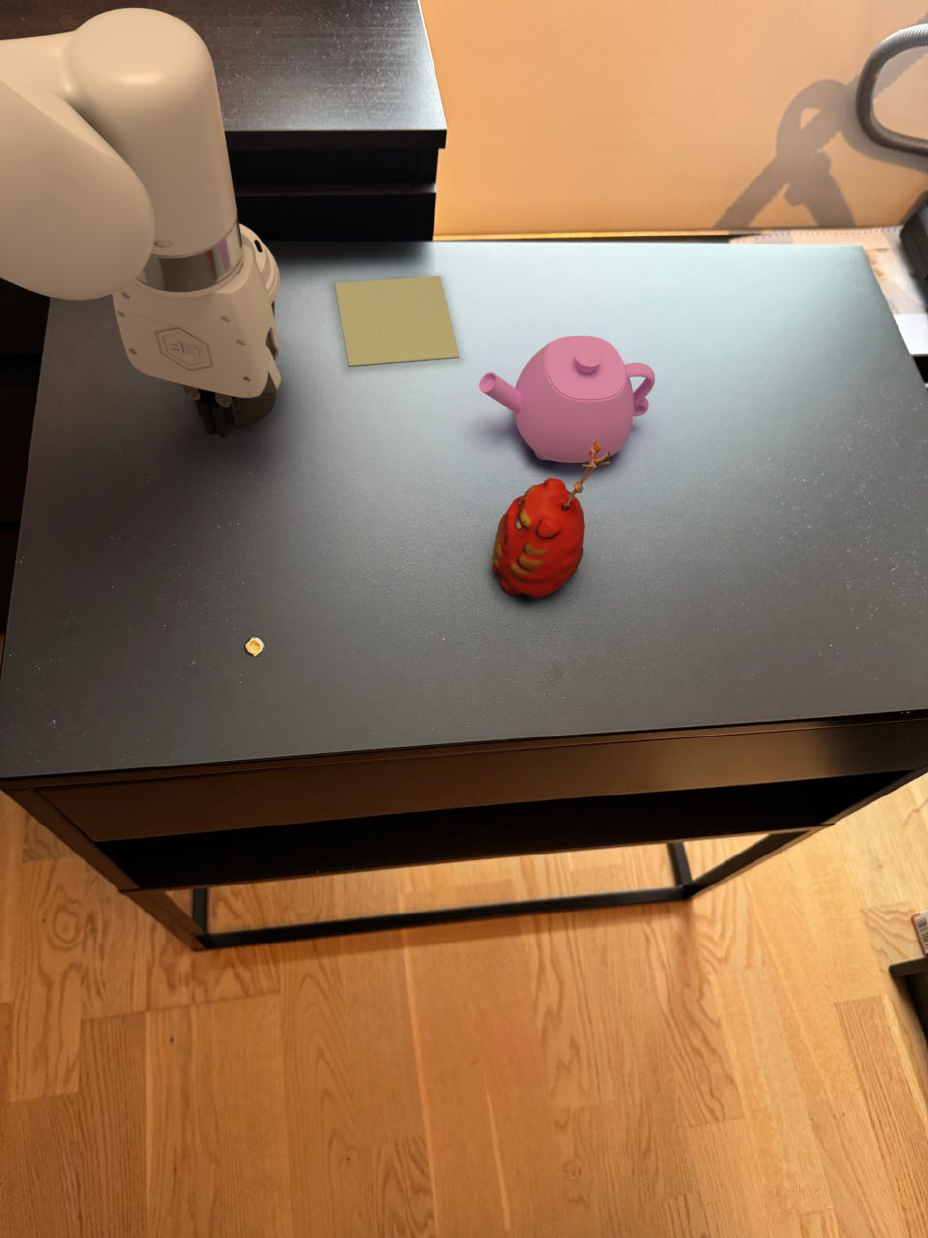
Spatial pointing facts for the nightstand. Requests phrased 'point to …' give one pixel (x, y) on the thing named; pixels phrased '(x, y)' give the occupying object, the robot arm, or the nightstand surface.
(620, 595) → the nightstand surface
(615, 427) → the teapot
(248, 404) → the coffee cup
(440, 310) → the mat
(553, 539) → the red clay folk toy
